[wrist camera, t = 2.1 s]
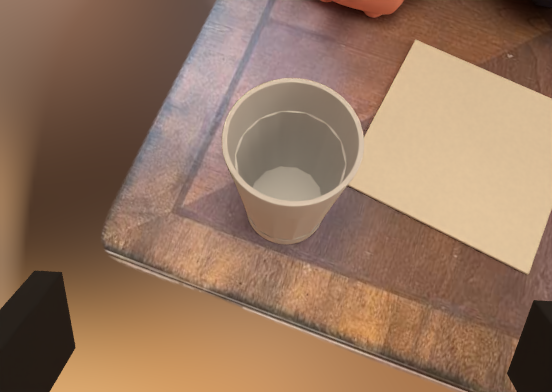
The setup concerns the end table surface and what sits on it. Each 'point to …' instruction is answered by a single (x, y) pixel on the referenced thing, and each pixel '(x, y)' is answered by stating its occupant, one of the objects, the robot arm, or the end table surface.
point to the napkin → (463, 155)
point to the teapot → (371, 6)
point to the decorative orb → (543, 3)
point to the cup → (291, 155)
